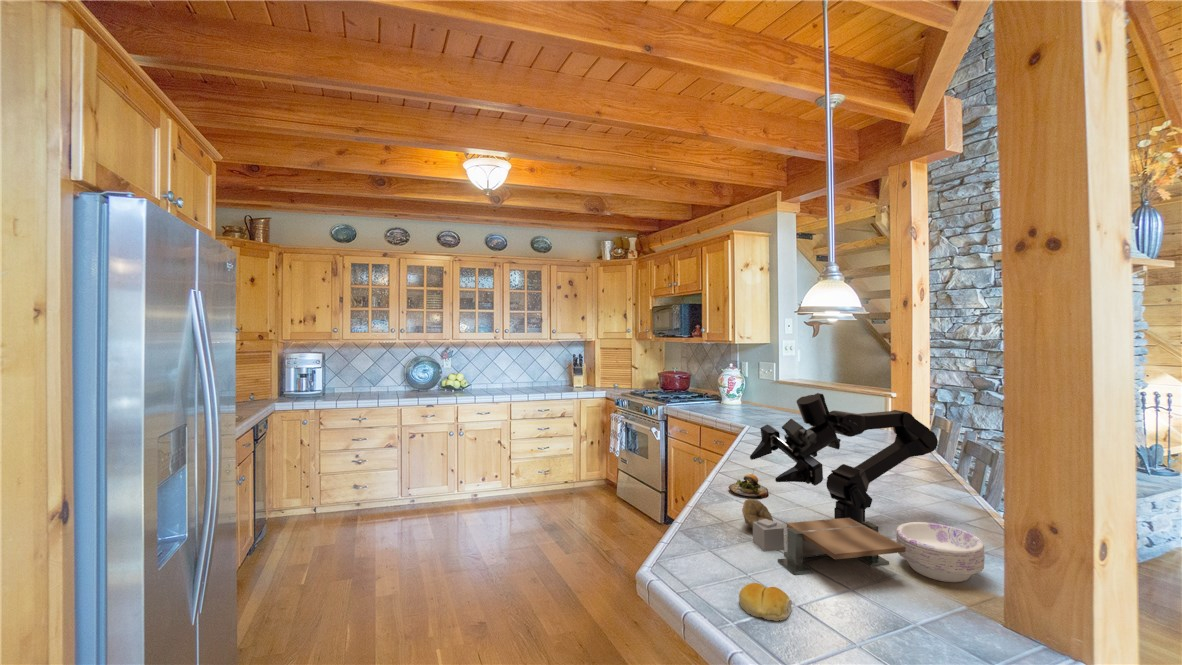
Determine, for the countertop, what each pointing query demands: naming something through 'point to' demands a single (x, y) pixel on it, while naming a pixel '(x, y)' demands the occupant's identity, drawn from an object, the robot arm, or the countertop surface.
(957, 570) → the paper bowls
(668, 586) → the countertop surface
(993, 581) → the countertop surface
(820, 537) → the trapdoor
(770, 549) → the gray block
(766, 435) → the robot arm
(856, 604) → the countertop surface
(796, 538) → the trapdoor frame
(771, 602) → the bread roll
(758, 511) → the fossil
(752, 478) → the burger
